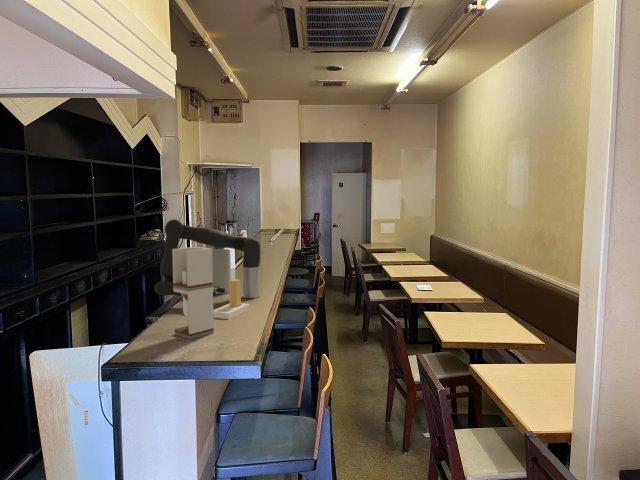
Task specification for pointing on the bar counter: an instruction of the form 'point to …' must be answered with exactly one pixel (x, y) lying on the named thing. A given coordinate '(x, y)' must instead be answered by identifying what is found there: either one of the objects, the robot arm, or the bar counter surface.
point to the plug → (235, 293)
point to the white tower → (194, 289)
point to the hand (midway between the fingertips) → (220, 292)
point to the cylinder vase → (221, 268)
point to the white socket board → (229, 311)
